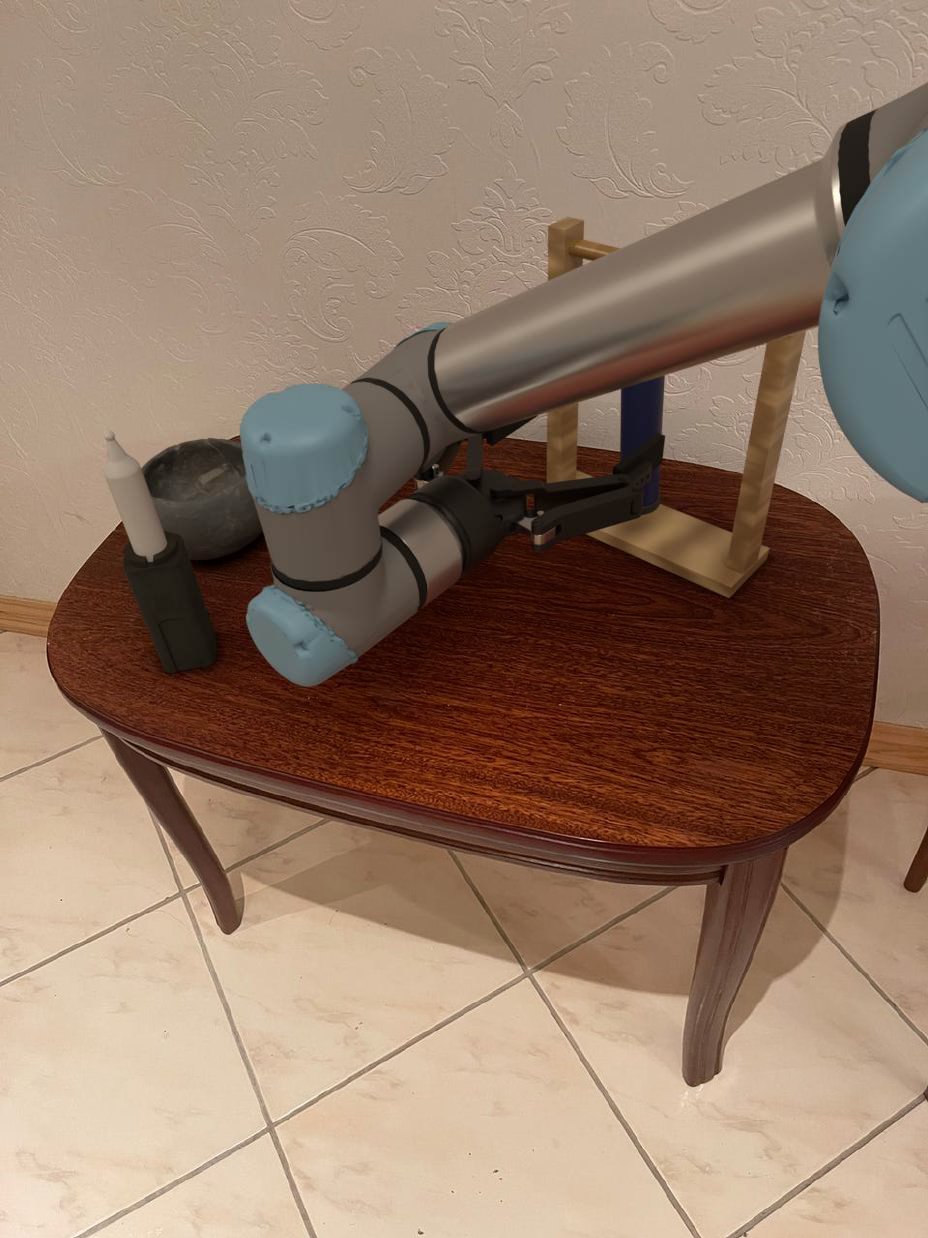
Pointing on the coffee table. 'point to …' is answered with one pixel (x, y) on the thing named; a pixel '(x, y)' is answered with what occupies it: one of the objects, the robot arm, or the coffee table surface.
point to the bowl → (204, 496)
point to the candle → (159, 570)
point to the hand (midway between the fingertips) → (594, 423)
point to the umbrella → (643, 429)
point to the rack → (666, 531)
